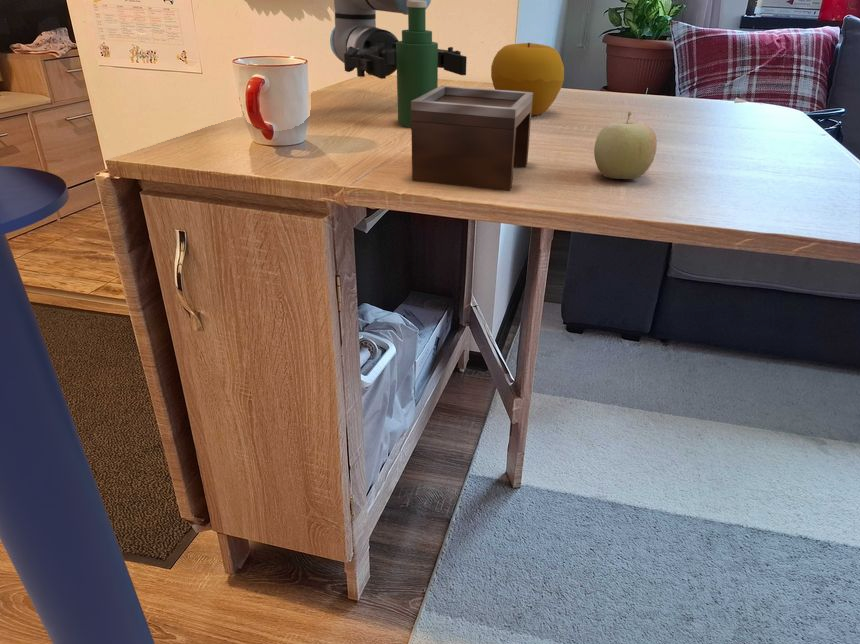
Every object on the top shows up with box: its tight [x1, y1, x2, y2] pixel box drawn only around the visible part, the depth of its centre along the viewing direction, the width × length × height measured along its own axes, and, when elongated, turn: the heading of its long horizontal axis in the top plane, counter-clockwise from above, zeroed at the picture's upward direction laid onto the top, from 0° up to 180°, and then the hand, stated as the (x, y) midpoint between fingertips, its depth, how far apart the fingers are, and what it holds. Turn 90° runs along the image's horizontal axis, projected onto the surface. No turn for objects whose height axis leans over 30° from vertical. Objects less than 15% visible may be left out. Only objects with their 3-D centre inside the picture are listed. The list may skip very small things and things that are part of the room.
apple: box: [490, 42, 565, 117], centre depth 111 cm, size 13×13×11 cm
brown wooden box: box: [410, 85, 533, 192], centre depth 77 cm, size 12×12×9 cm
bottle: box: [396, 0, 439, 129], centre depth 98 cm, size 6×6×18 cm
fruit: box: [593, 111, 658, 180], centre depth 78 cm, size 8×7×8 cm
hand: (424, 67), depth 96 cm, fingers open, 13 cm apart
